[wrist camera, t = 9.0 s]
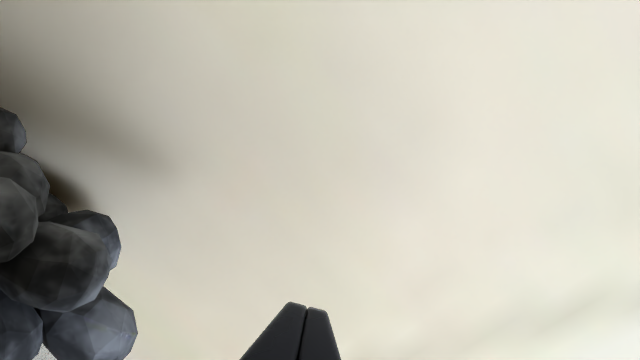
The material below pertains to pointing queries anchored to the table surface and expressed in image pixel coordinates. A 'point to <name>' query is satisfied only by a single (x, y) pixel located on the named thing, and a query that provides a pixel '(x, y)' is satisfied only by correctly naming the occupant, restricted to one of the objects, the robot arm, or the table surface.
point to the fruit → (54, 267)
